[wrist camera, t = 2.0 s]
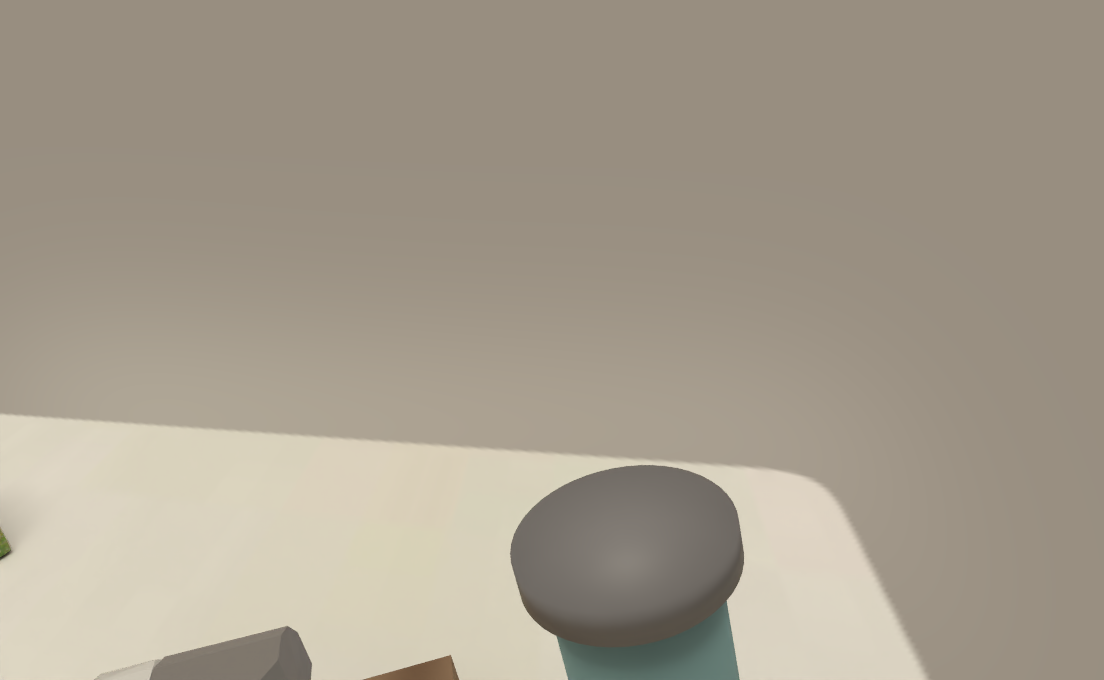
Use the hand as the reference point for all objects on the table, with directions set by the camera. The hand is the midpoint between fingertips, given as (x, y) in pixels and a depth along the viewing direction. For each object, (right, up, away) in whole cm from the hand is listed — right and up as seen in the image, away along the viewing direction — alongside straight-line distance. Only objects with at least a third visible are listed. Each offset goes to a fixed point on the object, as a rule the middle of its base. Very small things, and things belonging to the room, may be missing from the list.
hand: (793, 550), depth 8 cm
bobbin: (+2, -13, +21) cm, 25 cm away
